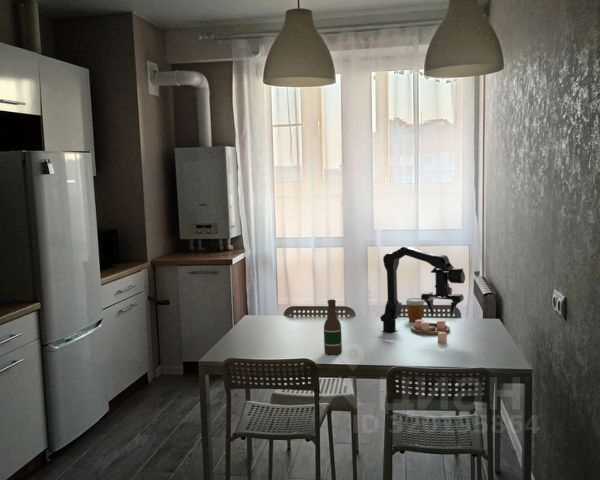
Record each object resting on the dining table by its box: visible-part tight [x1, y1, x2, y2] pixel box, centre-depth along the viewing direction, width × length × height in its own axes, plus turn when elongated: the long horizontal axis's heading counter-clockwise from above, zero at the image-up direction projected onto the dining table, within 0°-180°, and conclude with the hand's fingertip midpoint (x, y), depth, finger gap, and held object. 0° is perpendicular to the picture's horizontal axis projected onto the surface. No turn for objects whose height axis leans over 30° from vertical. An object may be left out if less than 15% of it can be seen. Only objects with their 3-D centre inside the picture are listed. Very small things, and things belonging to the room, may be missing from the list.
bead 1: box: [436, 319, 446, 331], centre depth 295 cm, size 4×4×5 cm
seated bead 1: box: [414, 319, 425, 331], centre depth 298 cm, size 4×4×5 cm
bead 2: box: [437, 332, 448, 345], centre depth 275 cm, size 4×4×5 cm
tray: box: [410, 322, 451, 337], centre depth 297 cm, size 18×18×2 cm
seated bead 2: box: [421, 321, 430, 331], centre depth 293 cm, size 4×4×5 cm
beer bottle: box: [323, 298, 343, 356], centre depth 266 cm, size 8×8×24 cm
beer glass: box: [405, 297, 425, 323], centre depth 317 cm, size 10×10×12 cm
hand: (442, 315), depth 283 cm, fingers open, 9 cm apart
